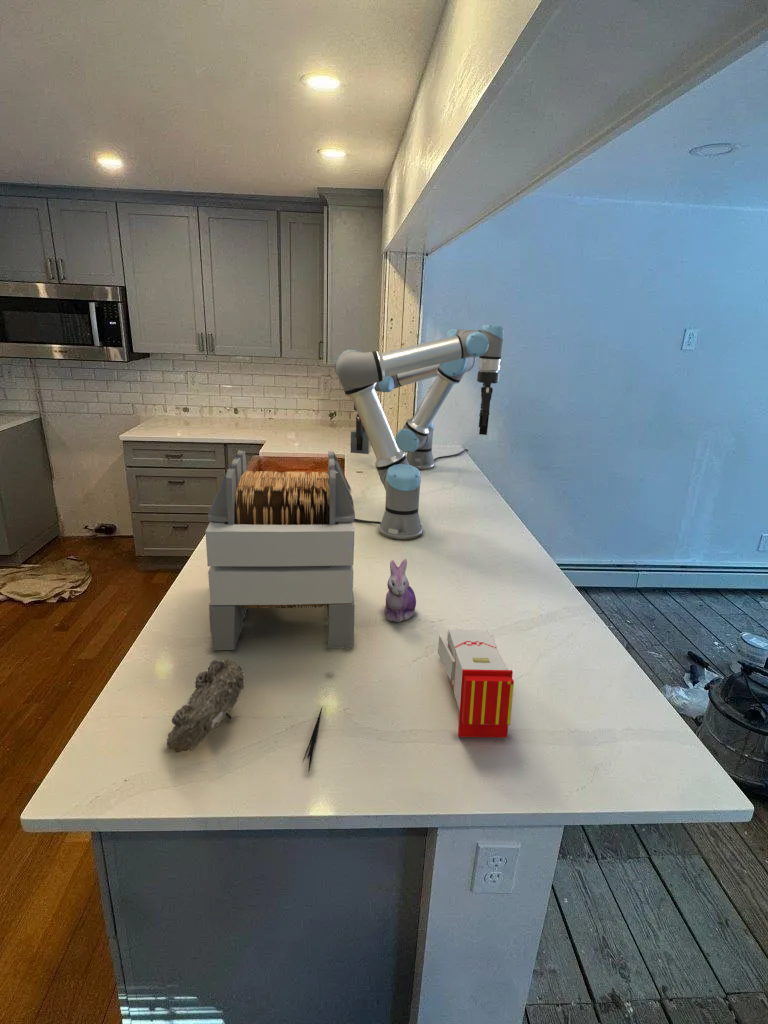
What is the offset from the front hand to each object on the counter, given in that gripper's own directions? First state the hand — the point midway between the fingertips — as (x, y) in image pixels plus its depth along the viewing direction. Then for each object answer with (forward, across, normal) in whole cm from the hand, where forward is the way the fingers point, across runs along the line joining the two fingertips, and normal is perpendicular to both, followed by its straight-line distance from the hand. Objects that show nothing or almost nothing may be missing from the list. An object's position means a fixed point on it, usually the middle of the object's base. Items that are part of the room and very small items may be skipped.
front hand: (482, 430), depth 206 cm
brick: (+28, +66, +57) cm, 92 cm away
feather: (+34, -121, +30) cm, 129 cm away
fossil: (+34, -124, +50) cm, 138 cm away
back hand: (+26, +66, +57) cm, 91 cm away
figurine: (+34, -78, +19) cm, 87 cm away
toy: (+34, -107, +1) cm, 112 cm away
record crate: (+34, -84, +48) cm, 103 cm away
